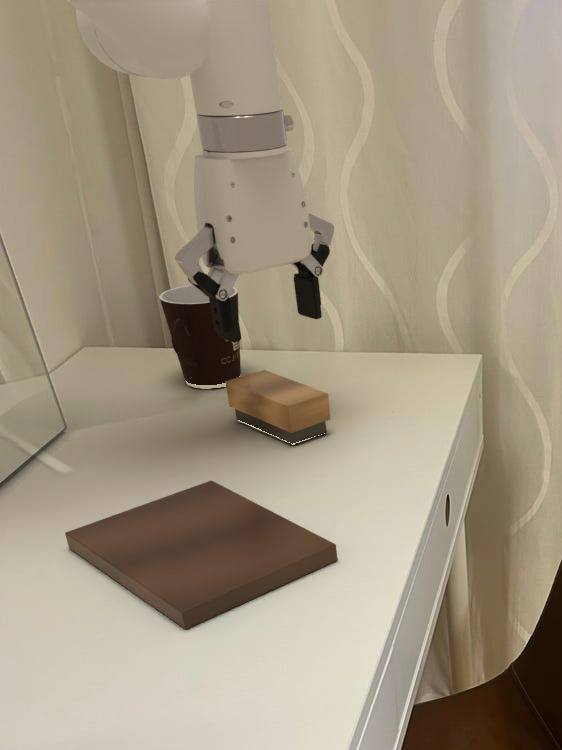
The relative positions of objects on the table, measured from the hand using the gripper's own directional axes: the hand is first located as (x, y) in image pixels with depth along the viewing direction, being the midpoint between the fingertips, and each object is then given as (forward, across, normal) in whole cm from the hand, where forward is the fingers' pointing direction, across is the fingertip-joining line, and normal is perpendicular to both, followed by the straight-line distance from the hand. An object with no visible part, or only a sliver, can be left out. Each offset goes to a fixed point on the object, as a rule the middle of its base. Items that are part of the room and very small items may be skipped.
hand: (271, 327), depth 96 cm
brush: (+10, 0, 0) cm, 10 cm away
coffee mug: (+10, -2, -18) cm, 21 cm away
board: (+10, +22, +18) cm, 30 cm away
